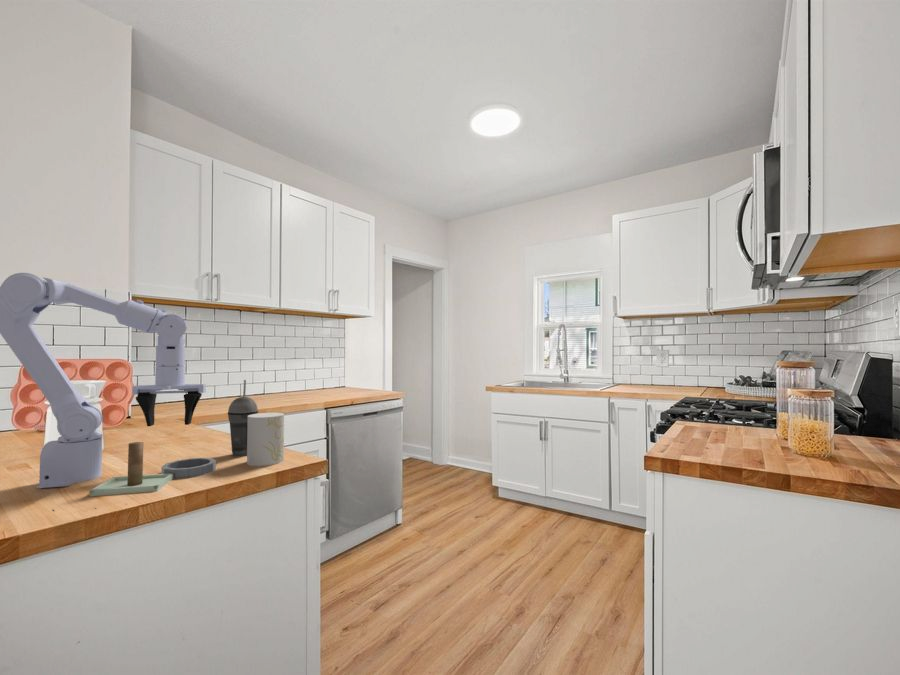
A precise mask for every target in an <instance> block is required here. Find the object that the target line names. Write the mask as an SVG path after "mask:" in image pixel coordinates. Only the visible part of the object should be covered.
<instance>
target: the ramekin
mask: <svg viewBox="0 0 900 675" xmlns="http://www.w3.org/2000/svg"><path fill="white" fill-rule="evenodd" d="M216 469H217V460H216V459H214V458H211V457H195V458H194V457H193V458H183V459H180V460H179V459H177V460H174V461H170V462H166V463H165V464H163V465H161V473H160V474H167V473H174V479H175V480H176V479H186V478H187V479H189V478H195V477H200V476H205V475H208V474H210V473H213V472H214V471H215V470H216ZM174 479H173V480H174Z"/></svg>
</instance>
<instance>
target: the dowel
mask: <svg viewBox="0 0 900 675" xmlns="http://www.w3.org/2000/svg"><path fill="white" fill-rule="evenodd" d="M127 449H128V450H127V453H128V454H127V455H128V458H127V476H128V482H127V485H128V486H136V485H140V484H142V479H143V475H144V474H143V473H144V472H143V471H144V441H136V442H130V443H128V448H127Z"/></svg>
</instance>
